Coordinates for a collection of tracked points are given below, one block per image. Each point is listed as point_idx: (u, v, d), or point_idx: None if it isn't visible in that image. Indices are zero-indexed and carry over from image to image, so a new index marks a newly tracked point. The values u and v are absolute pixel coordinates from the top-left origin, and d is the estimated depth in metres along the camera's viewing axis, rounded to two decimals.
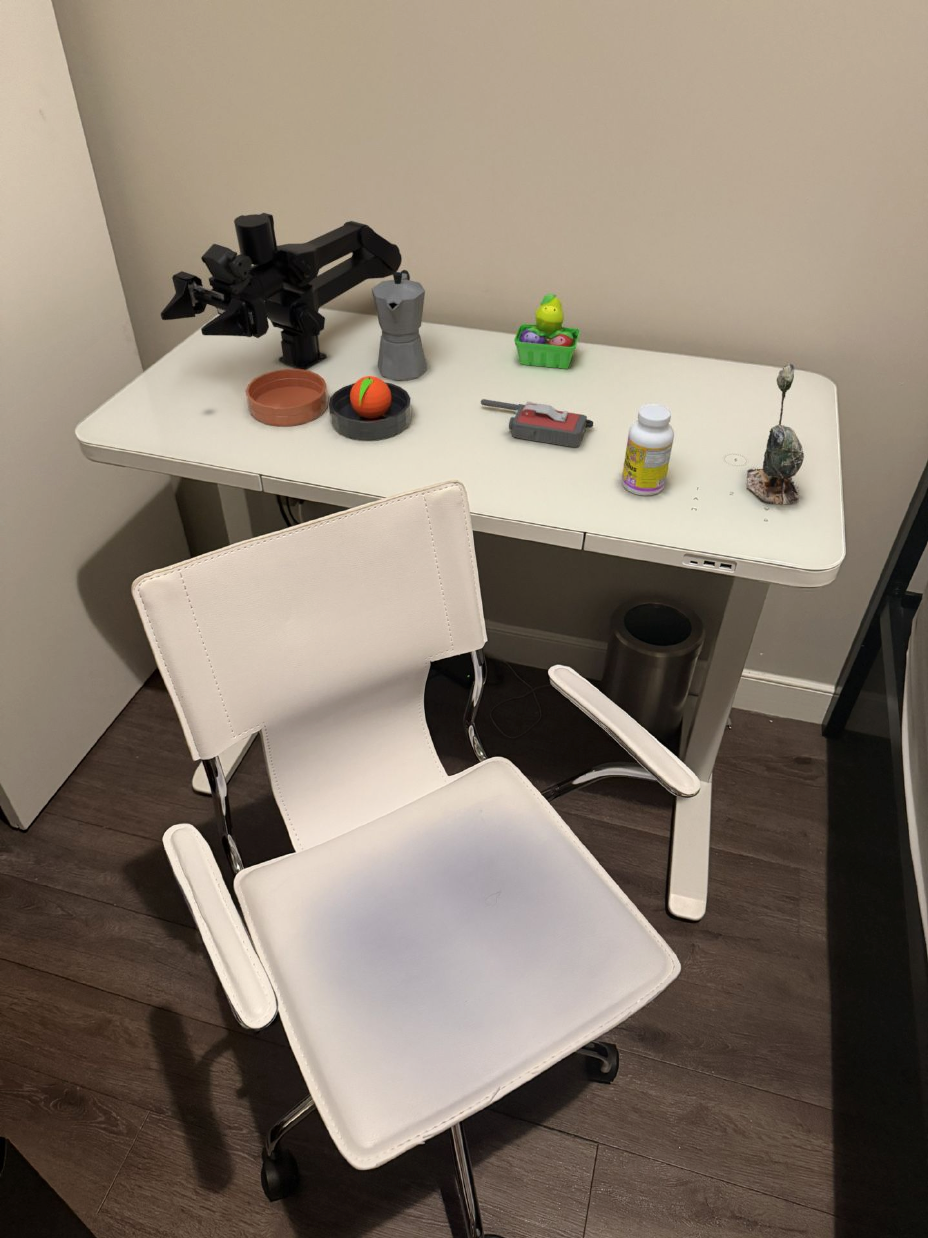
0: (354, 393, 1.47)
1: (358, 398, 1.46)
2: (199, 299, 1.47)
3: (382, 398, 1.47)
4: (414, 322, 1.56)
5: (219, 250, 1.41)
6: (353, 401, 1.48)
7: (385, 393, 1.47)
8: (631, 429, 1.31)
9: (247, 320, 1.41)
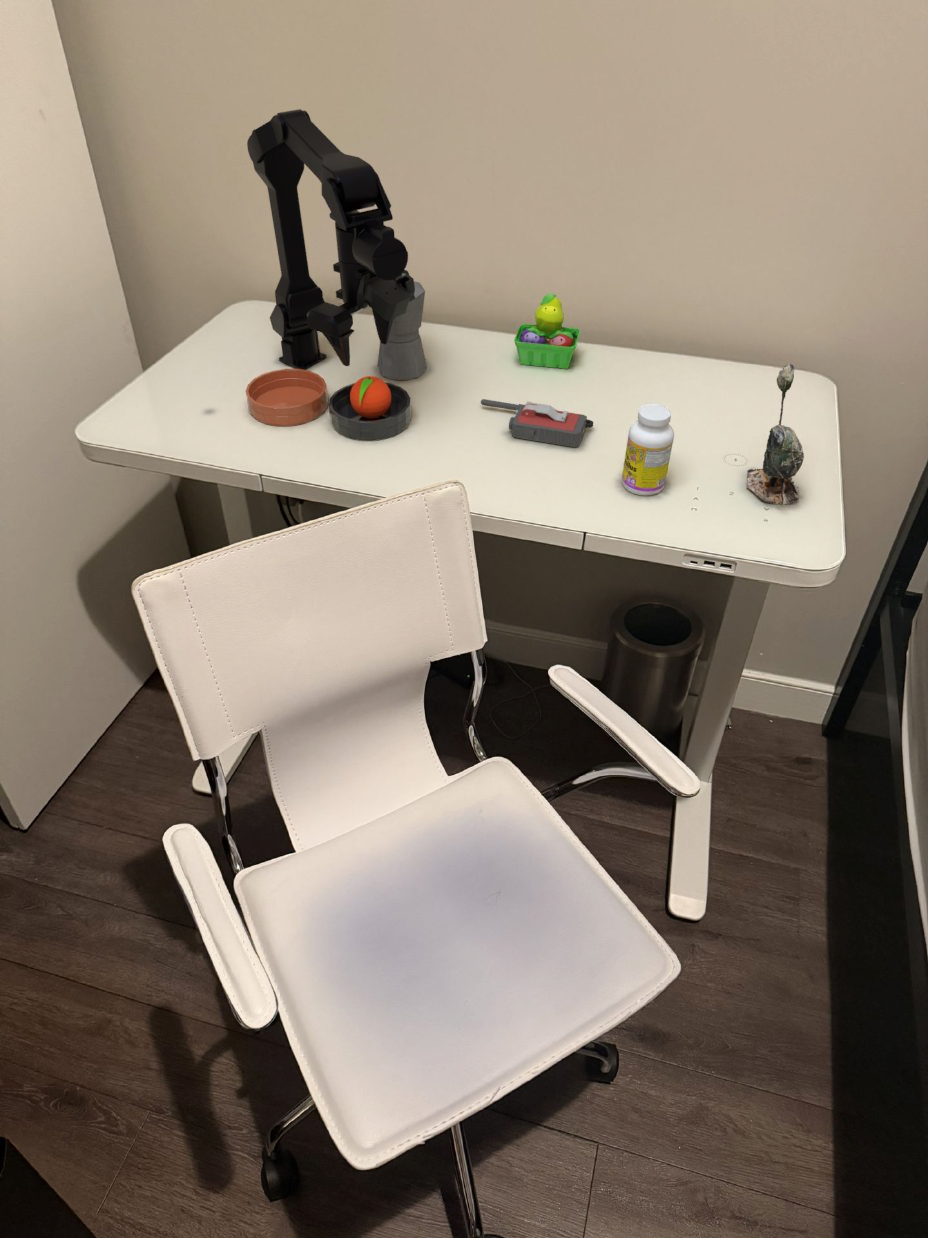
0: (354, 393, 1.47)
1: (358, 398, 1.46)
2: None
3: (382, 398, 1.47)
4: (414, 322, 1.56)
5: (403, 304, 1.33)
6: (353, 401, 1.48)
7: (385, 393, 1.47)
8: (631, 429, 1.31)
9: None
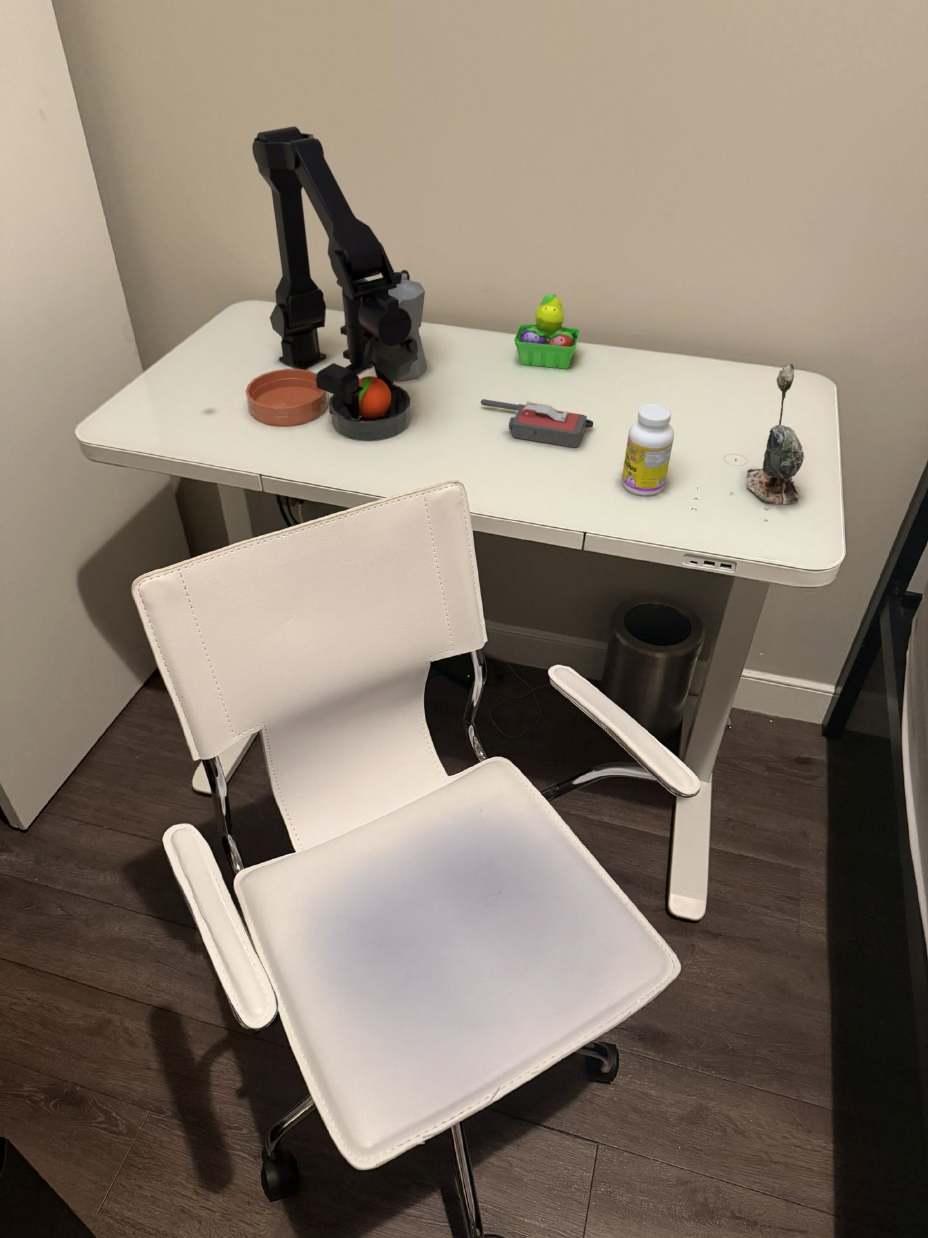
0: None
1: None
2: None
3: (382, 398, 1.47)
4: (414, 322, 1.56)
5: (407, 365, 1.40)
6: None
7: (385, 393, 1.47)
8: (631, 429, 1.31)
9: None
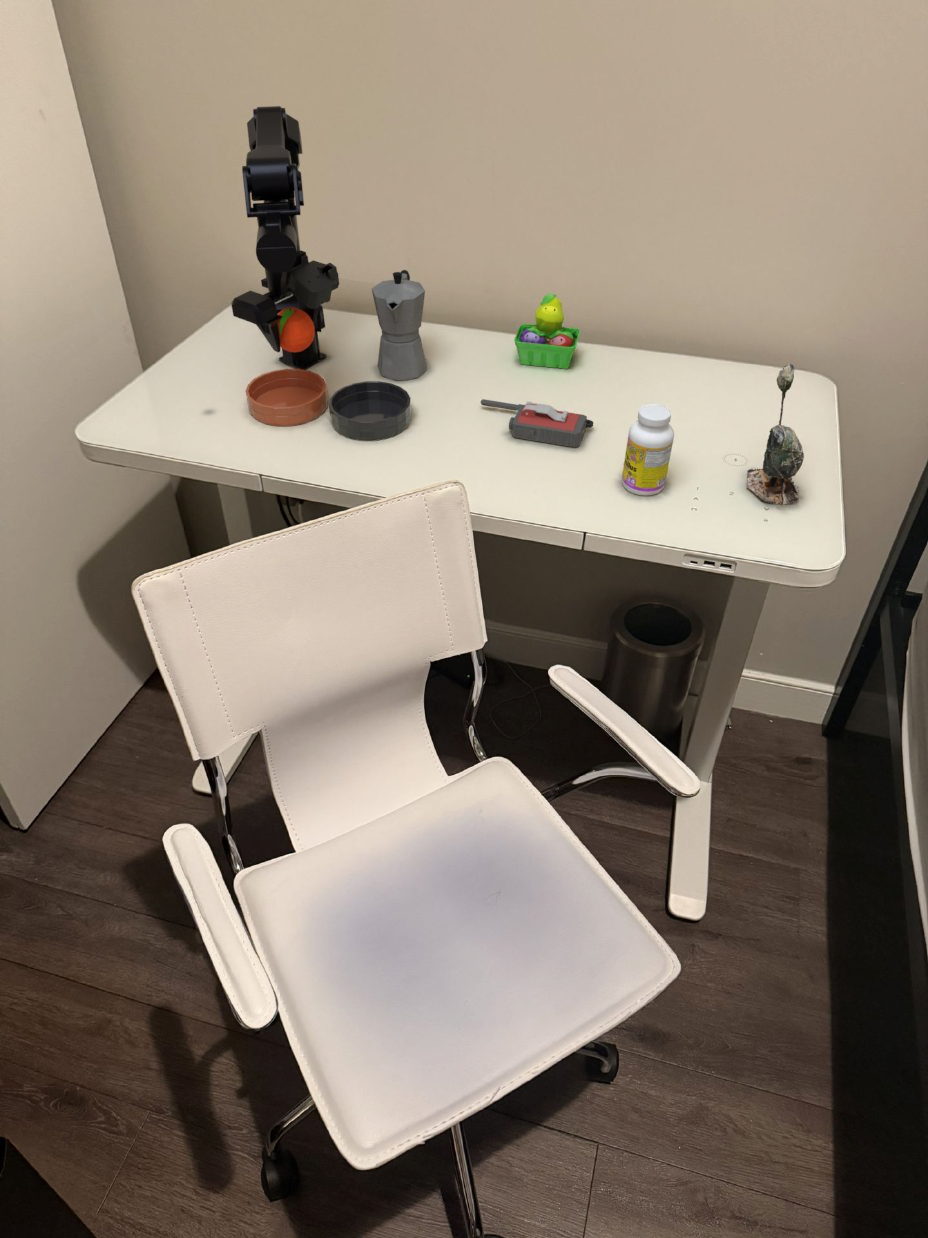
0: None
1: (279, 329, 1.42)
2: None
3: (304, 330, 1.43)
4: (414, 322, 1.56)
5: (326, 292, 1.36)
6: None
7: (307, 325, 1.43)
8: (631, 429, 1.31)
9: None
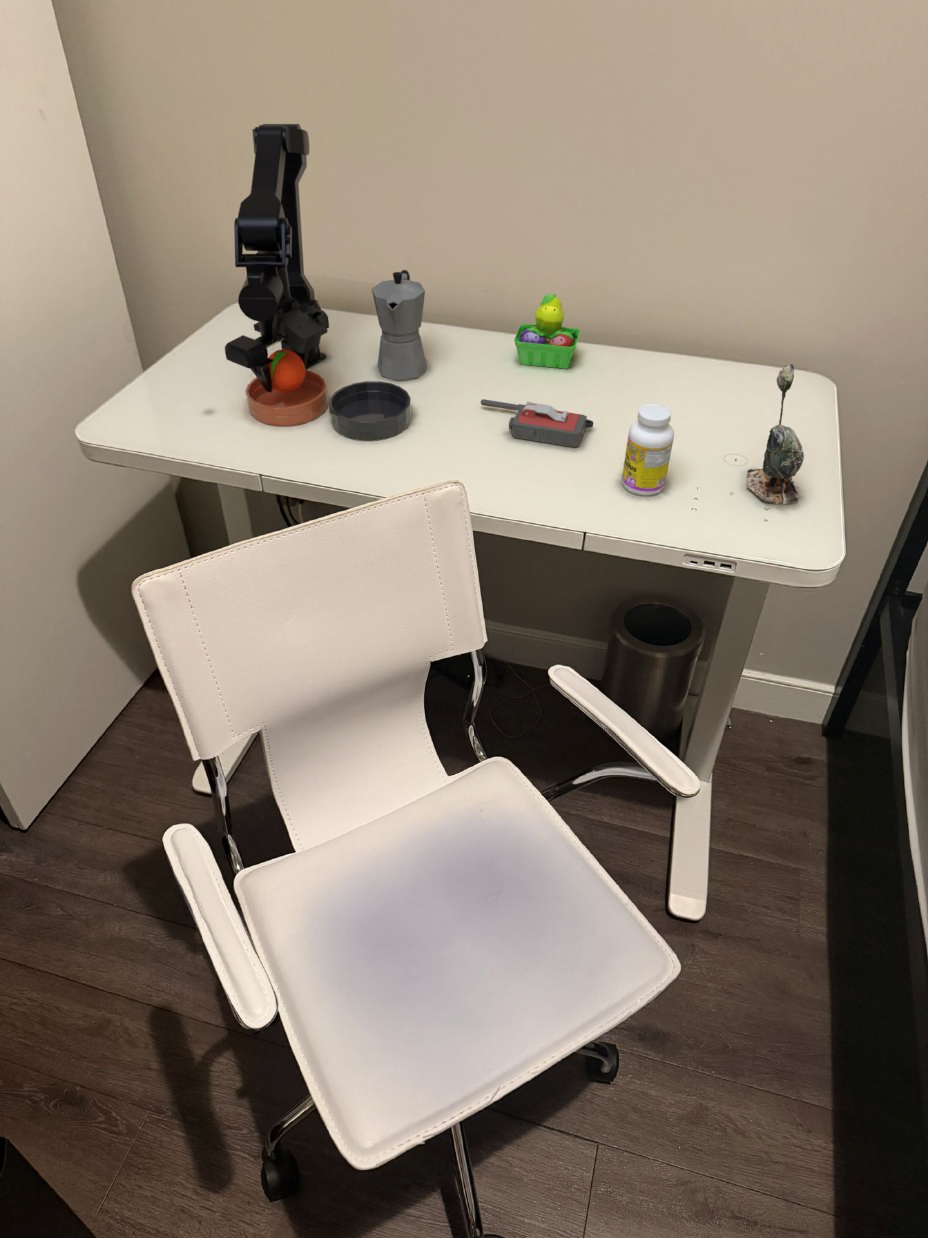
0: None
1: (271, 371, 1.48)
2: None
3: (295, 371, 1.48)
4: (414, 322, 1.56)
5: (315, 337, 1.42)
6: None
7: (298, 366, 1.49)
8: (631, 429, 1.31)
9: None
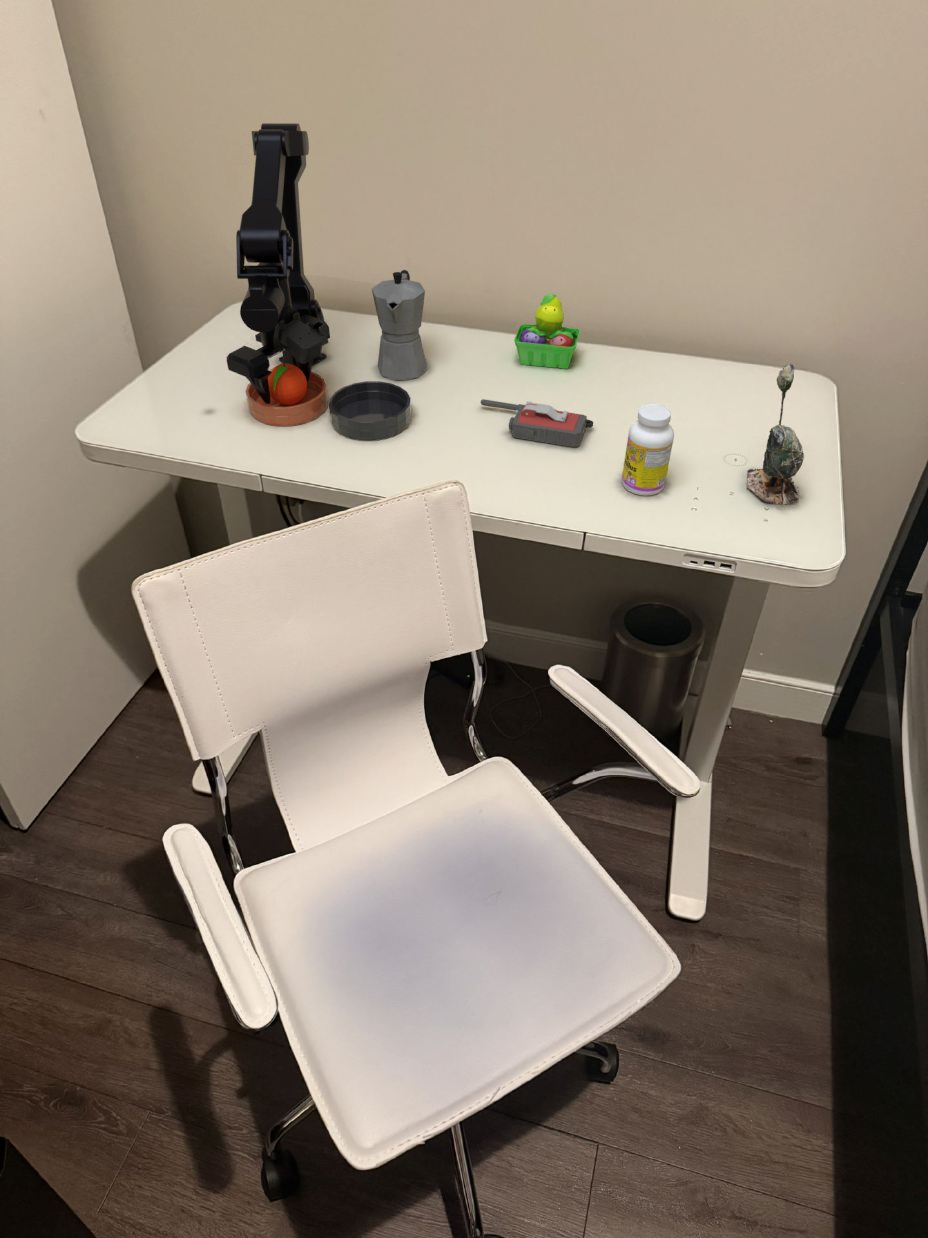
0: (269, 379, 1.50)
1: (273, 385, 1.50)
2: None
3: (297, 385, 1.50)
4: (414, 322, 1.56)
5: (316, 348, 1.43)
6: (269, 388, 1.51)
7: (300, 380, 1.50)
8: (631, 429, 1.31)
9: None
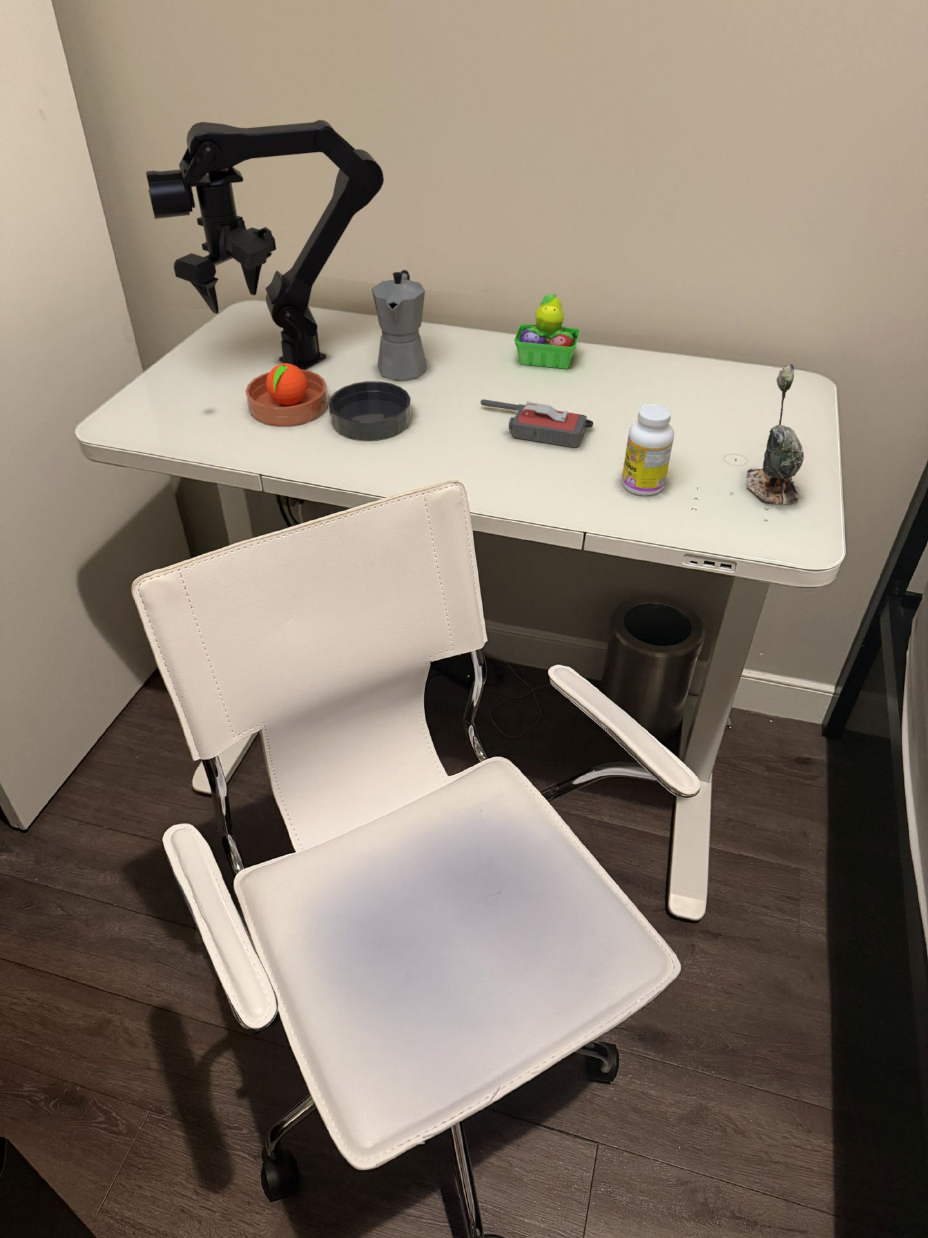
0: (269, 379, 1.50)
1: (273, 385, 1.50)
2: None
3: (297, 385, 1.50)
4: (414, 322, 1.56)
5: (261, 254, 1.47)
6: (269, 388, 1.51)
7: (300, 380, 1.50)
8: (631, 429, 1.31)
9: None
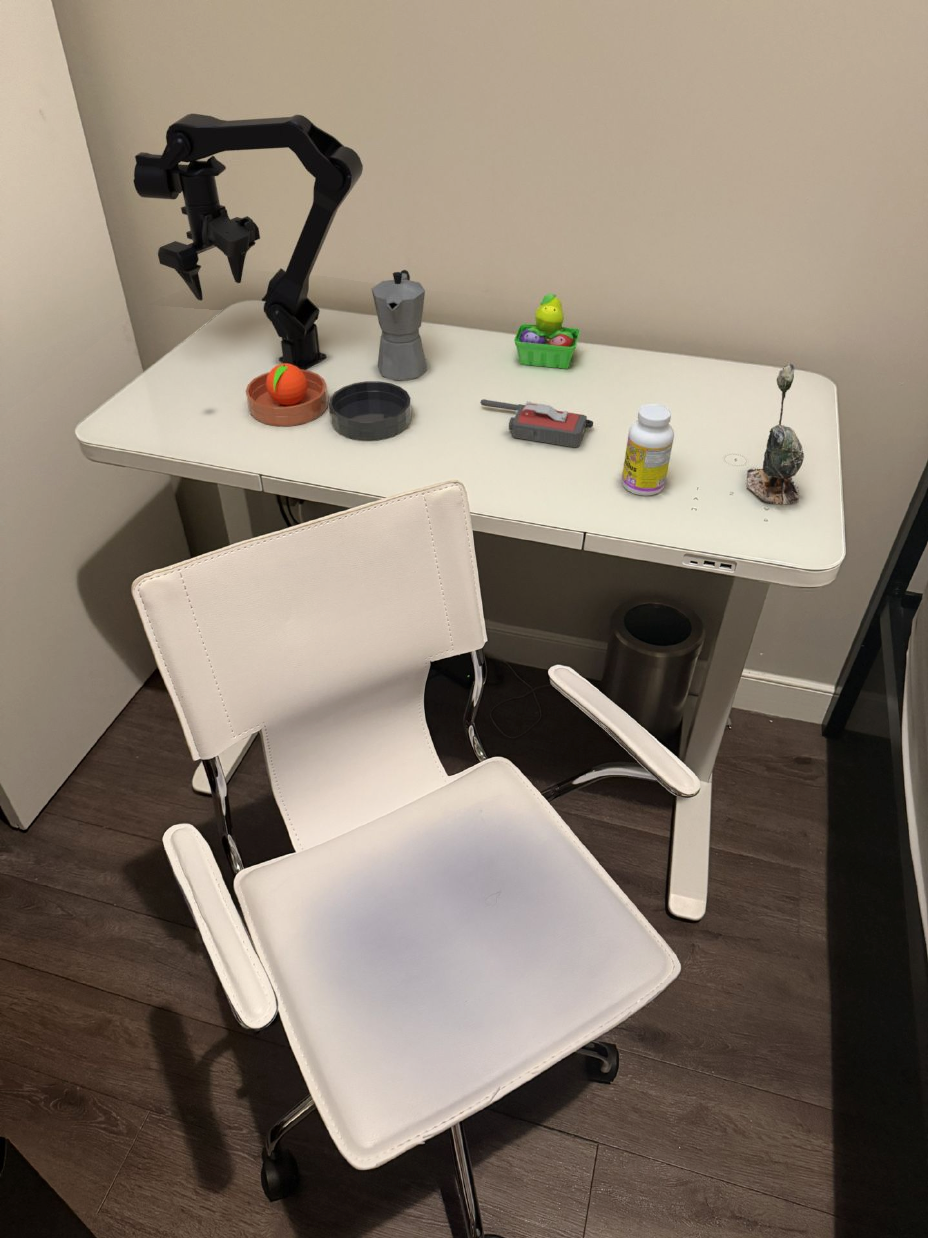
0: (269, 379, 1.50)
1: (273, 385, 1.50)
2: None
3: (297, 385, 1.50)
4: (414, 322, 1.56)
5: (242, 242, 1.51)
6: (269, 388, 1.51)
7: (300, 380, 1.50)
8: (631, 429, 1.31)
9: None
